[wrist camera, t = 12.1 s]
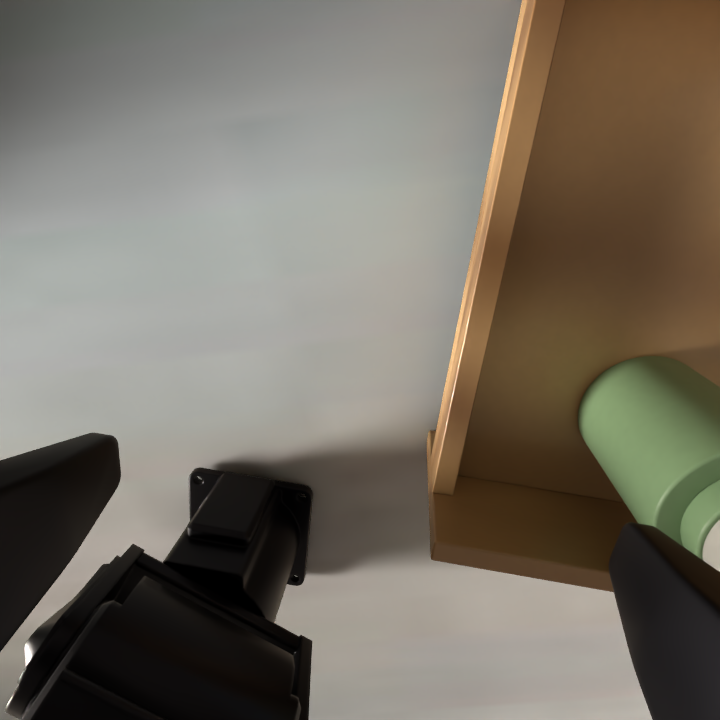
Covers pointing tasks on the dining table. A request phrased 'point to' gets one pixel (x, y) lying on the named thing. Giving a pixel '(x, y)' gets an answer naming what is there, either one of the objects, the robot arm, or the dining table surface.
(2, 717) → the dining table surface
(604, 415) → the green bottle
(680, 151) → the spice rack
